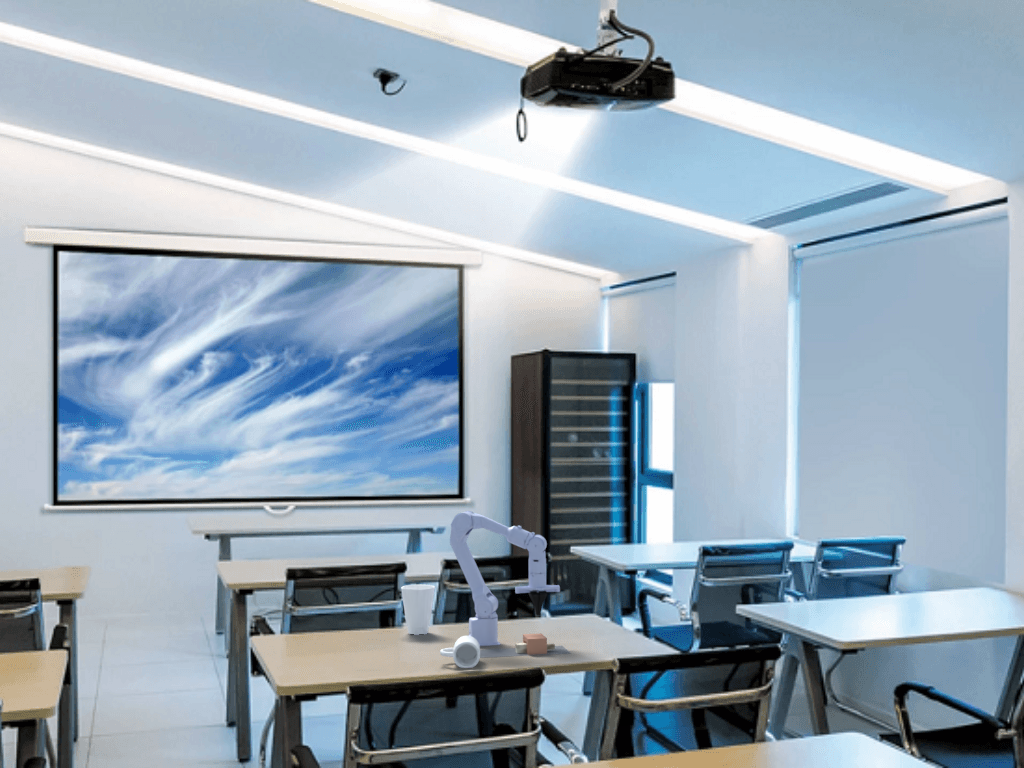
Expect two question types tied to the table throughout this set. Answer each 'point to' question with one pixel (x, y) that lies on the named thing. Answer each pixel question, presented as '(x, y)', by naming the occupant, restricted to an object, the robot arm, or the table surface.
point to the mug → (464, 652)
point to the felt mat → (512, 652)
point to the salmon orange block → (535, 643)
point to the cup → (418, 607)
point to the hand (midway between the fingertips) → (537, 614)
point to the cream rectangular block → (523, 647)
